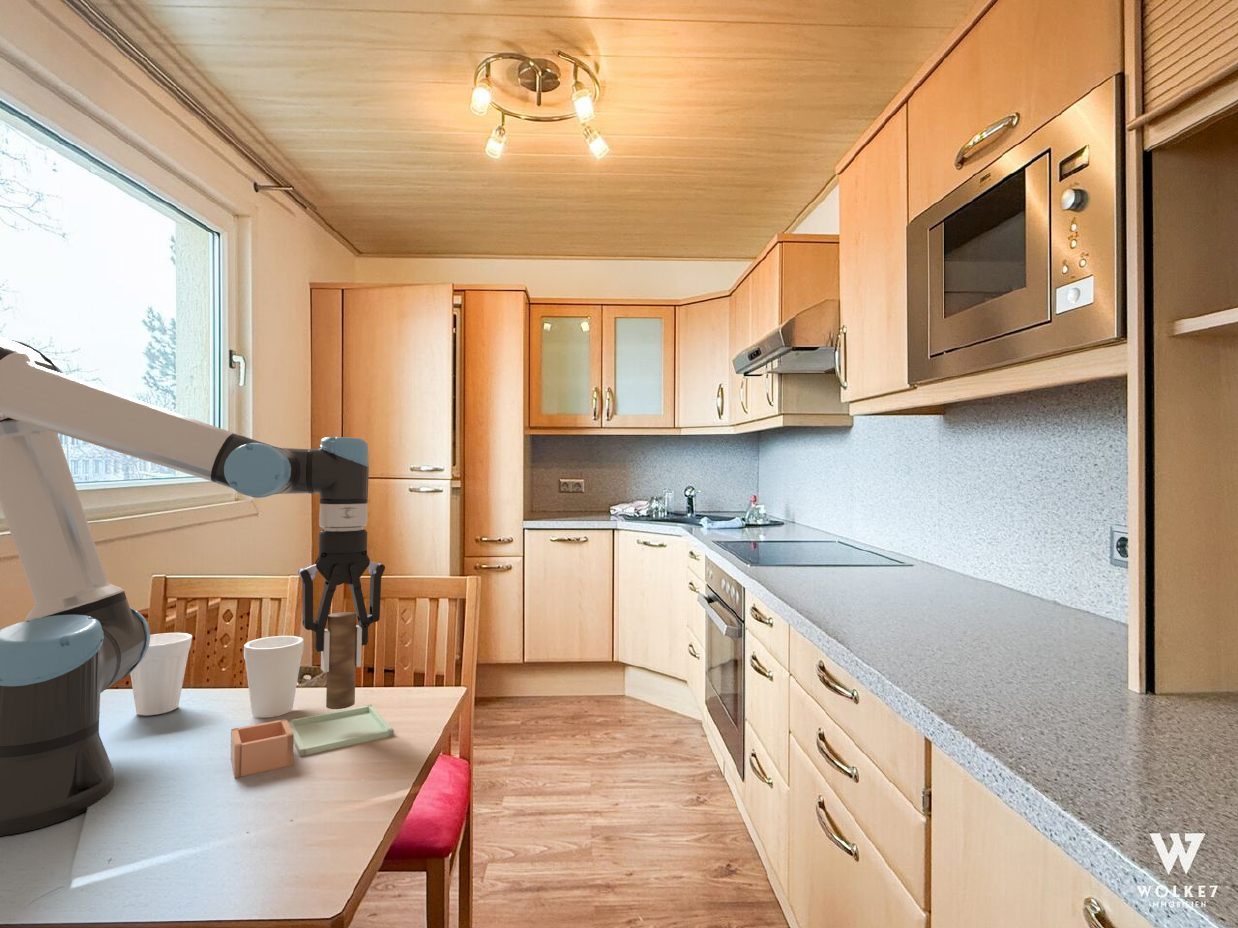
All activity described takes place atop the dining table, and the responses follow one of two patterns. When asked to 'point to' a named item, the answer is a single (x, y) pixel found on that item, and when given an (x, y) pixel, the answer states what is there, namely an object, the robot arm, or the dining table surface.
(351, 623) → the dowel
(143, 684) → the cup
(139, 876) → the dining table surface
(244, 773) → the orange open box
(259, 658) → the foam cup
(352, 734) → the tray
